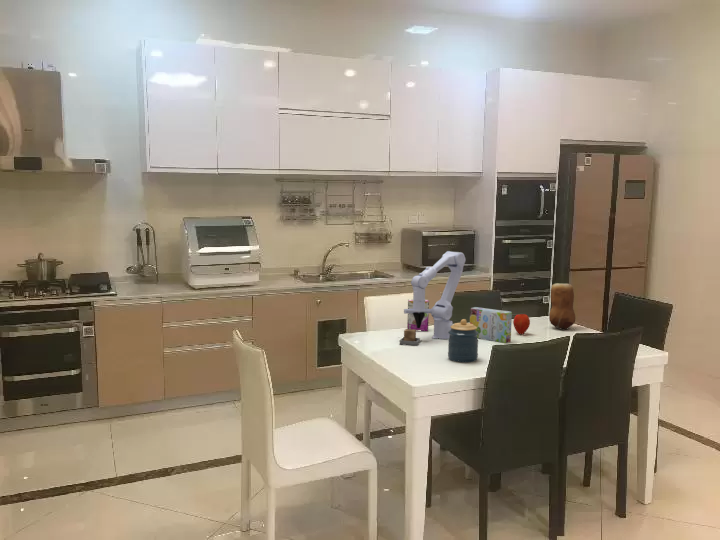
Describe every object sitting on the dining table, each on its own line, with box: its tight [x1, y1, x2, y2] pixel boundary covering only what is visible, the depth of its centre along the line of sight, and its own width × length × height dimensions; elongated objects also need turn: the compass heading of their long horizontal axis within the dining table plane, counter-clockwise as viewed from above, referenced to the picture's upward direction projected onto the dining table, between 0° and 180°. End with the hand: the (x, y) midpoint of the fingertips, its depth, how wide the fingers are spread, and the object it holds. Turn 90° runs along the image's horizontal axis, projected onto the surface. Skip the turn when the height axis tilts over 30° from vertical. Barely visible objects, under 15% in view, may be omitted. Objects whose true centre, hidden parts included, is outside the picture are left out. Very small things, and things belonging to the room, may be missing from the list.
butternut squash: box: [548, 282, 576, 330], centre depth 331 cm, size 14×13×25 cm
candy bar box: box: [406, 298, 430, 332], centre depth 325 cm, size 11×5×16 cm, turn 84°
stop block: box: [403, 328, 417, 341], centre depth 295 cm, size 5×4×6 cm
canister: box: [447, 318, 479, 363], centre depth 266 cm, size 13×13×18 cm
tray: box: [399, 336, 421, 347], centre depth 295 cm, size 8×8×2 cm
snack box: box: [469, 306, 513, 344], centre depth 305 cm, size 21×6×15 cm, turn 47°
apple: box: [512, 313, 531, 335], centre depth 317 cm, size 9×8×11 cm
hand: (418, 327), depth 300 cm, fingers closed
